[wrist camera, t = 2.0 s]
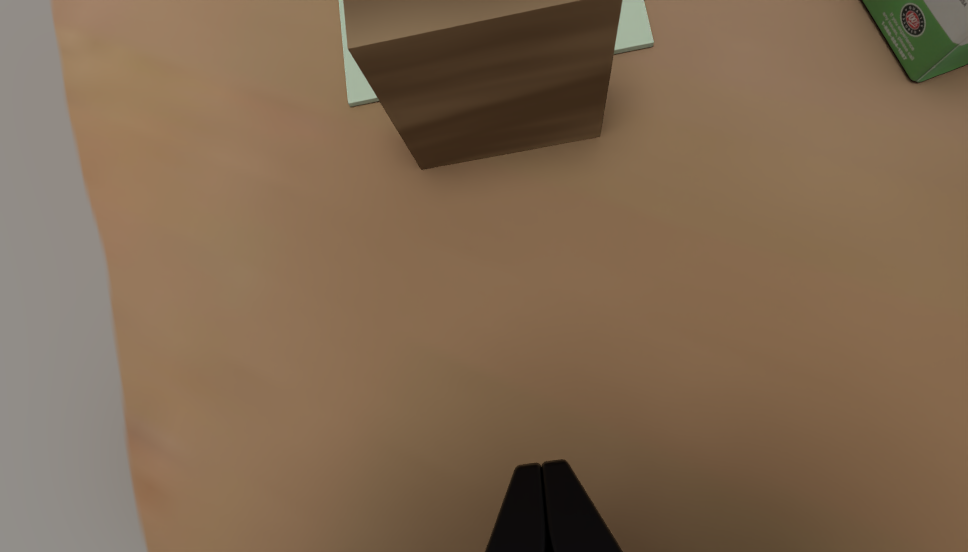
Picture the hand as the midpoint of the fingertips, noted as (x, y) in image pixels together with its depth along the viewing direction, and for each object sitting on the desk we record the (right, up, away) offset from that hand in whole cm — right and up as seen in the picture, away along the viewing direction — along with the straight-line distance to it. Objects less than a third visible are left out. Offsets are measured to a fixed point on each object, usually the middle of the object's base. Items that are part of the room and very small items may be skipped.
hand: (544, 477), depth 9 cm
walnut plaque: (0, +10, +16) cm, 18 cm away
